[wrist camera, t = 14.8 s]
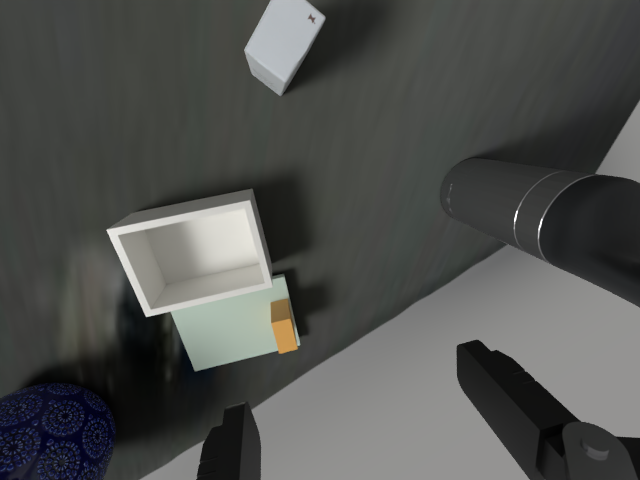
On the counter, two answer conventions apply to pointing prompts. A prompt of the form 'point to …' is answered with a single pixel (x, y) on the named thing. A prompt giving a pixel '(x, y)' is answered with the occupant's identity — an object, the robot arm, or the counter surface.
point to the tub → (194, 252)
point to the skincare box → (282, 41)
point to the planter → (55, 434)
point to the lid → (238, 326)
